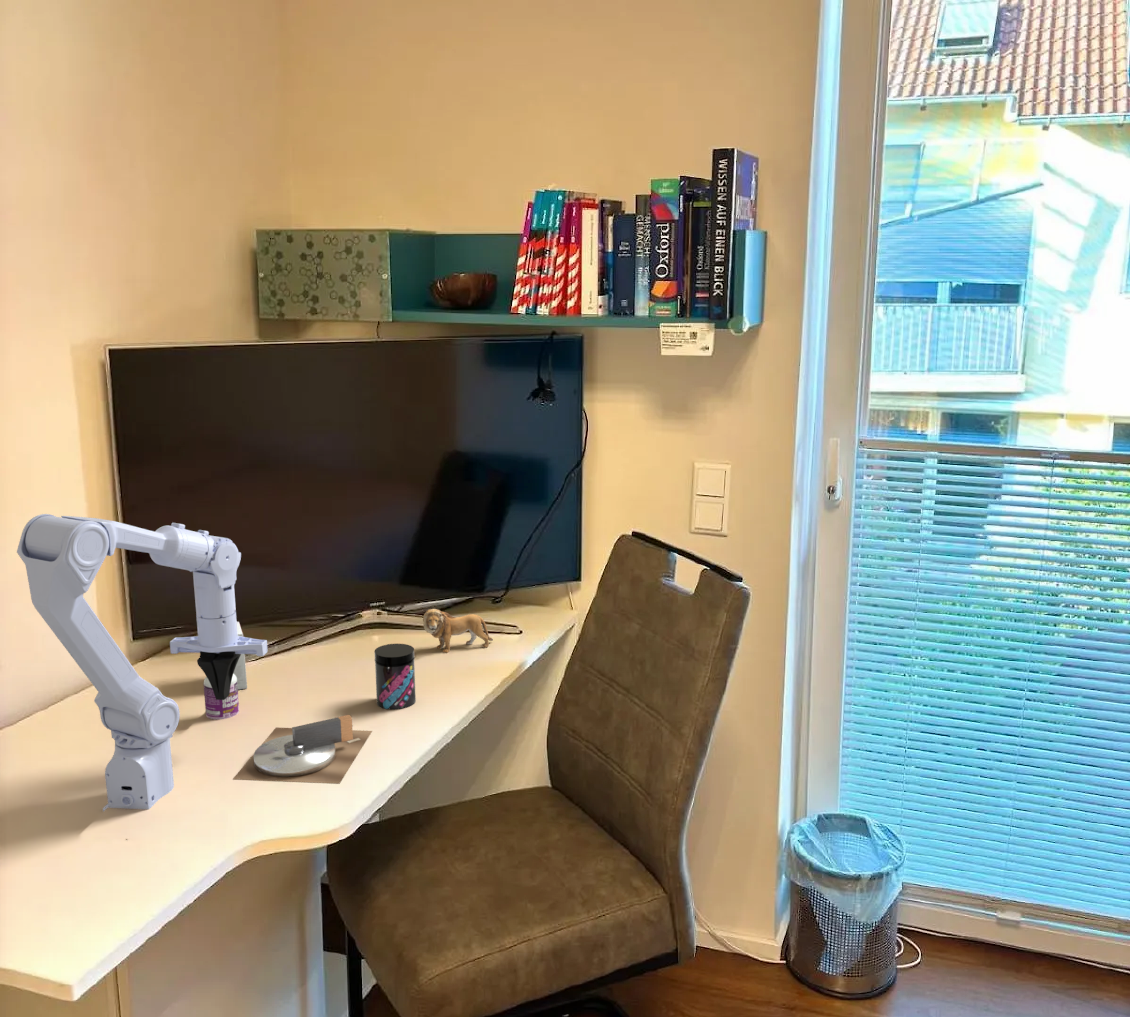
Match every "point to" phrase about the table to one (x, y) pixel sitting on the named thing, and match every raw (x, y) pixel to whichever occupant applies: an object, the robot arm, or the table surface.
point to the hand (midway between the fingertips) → (222, 697)
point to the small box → (240, 666)
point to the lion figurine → (454, 627)
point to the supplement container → (395, 676)
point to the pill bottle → (221, 701)
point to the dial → (303, 748)
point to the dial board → (328, 774)
